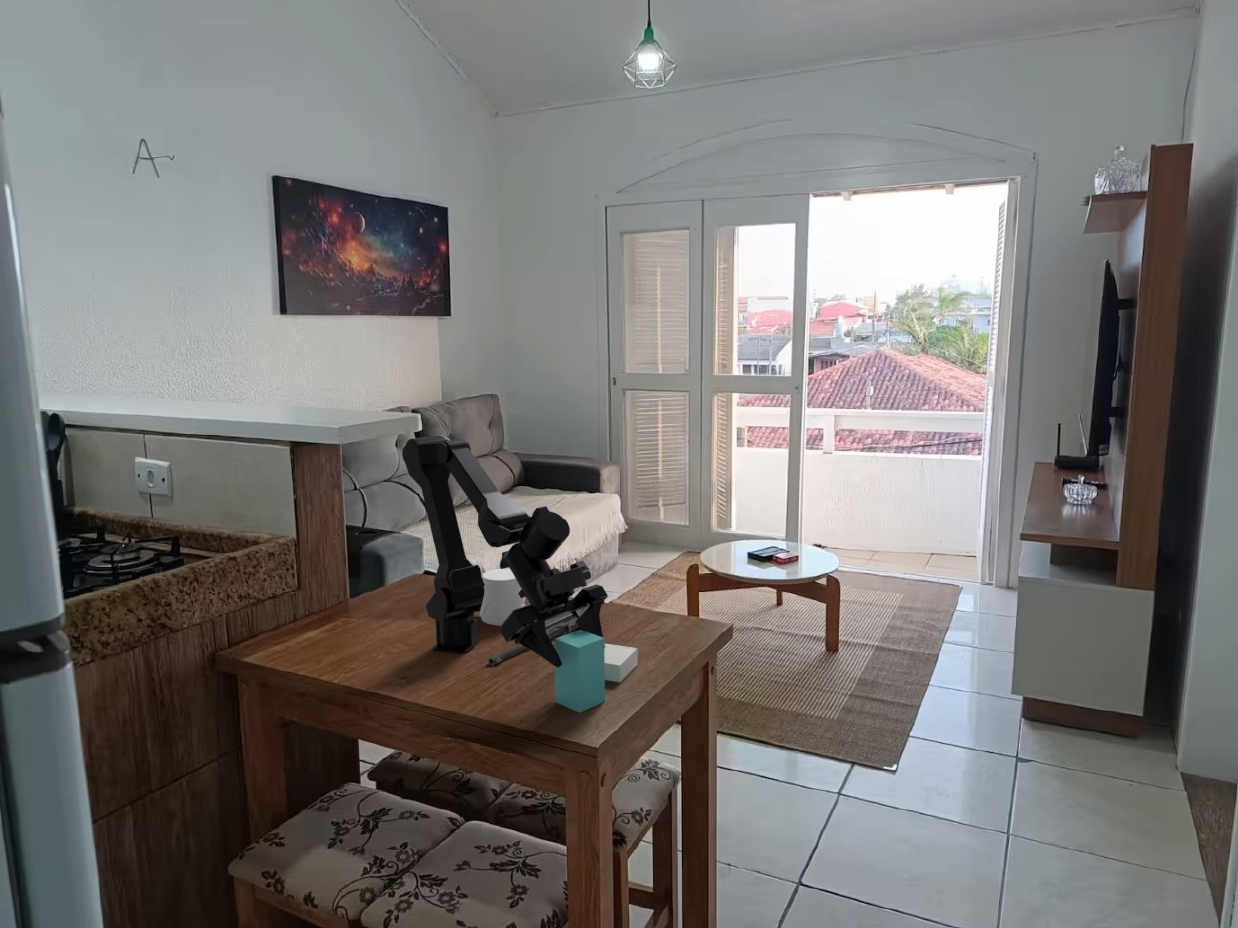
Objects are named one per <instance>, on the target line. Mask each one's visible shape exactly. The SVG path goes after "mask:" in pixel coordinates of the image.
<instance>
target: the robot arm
mask: <svg viewBox="0 0 1238 928" xmlns="http://www.w3.org/2000/svg"><path fill="white" fill-rule="evenodd" d="M401 453H402V455H401V457H402V459H403V460H402V461H403V462H404V464H405V466H406V470H407V473H408V475H409V476H410V477H411V478H412V480H413V481H414V482H415V483H416V484H417V485H418V486H419V487H420V489H421V494H422V496H423V501H424V505H425V510H426V514H427V518H428V523H429V527H430V531H431V537H432V540H433V545H434V548H435V552H436V557H437V558H436V559H437V561H438V567H437V569H436V573H435V577H434V578H433V585H434V591H435V592H434V593H433V595H432V596H431V598H430V599H429V600H428V602H427V603H426V605H425V609H426V612H427V616H428V617H429V618H431V619H434V620H435V637H436V640H435V641H436V643H435V645H434V646H432V651H438V652H439V651H440V652H449V653H458V654H465V653H467V652H468V651H469V650H470V649H471V648H472V647H474V646H475V645H476V644H477V643H478V642H479V638H478V631H477V627H478V626H477V620H475V616H474V615H475V613H476V612H477V613H480V611H481V606H482V602H483V597H484V592H485V589H484V586H485V584H484V582H483V579H482V576H483V575H482V570H481V567H480V565H478V564H473V563H472V562H471V561H470V560H469V559H468V558H467V556H466V551H465V548H464V543H463V539H462V535H461V531H460V526H459V522H458V517H457V514H456V509H455V505H454V501H453V497H452V493H451V488H450V484H449V479H450V477H451V475H452V477H453V478H454V479H455V481H456V483H457V484H458V485H459V487H460V488H461V490H462V491H463V493H464V494H465V496H466V497H467V498H468V500H469V501H470V503H471V504H472V506H473V507H474V508H475V512H477V527H478V528H479V530H480V532H481V535H482V536H483V538H484V540H485V542H486V543H487V545H489V546H490V547H491V548H502V547H505V546H510V548H509V549H508V551H503V552H502V553H501V557H500V558H501V559H500V561H499V569H511V571H512V573H513V575H514V576H515V578H516V580H517V582H518V583H519V585H520V587H521V590H520V592H519V593H518V594H519V596H520V597H521V598H524V597H525V599H527V600H528V603H529V605H526V606H525V607H522V608H519V609H516V610H513V612H512V613H511V614H510V615H509V616H508V618H507V619H506V620H505V621H504V623H503V624H502V626H500V629H501V630H500V631H501V632H500V633H501V635H502V637H503V639H504V640H505V642H506V643H511V642H514V645H517V644H521V645H523V646H524V647H526V648H528V649H527V650H529V651H532V652H533V653H535V654H537V655H538V656H540V657H541V658H542V659H544V660H546V661H547V662H548V663H550V664H552V665H553V666H554V667H555V666H556V667H557V668H559V667H560V666H561V665H562V662H561V659H560V657H559V655H558V653H557V651H556V649H555V645H554V644H553V642H552V641H551V639H549V637H548V635H547V633H546V628H545V621H547V620H550V619H553V618H556V617H559V616H562V615H565V614H568V613H572V615H573V616H575V617H577V618H578V619H577V620H576V621H575V622H576V623H577V625H578V626H579V627H578V628H579V629H580V630H583V631H586V632H589V633H591V634H594V635H597V636H600V637H603V638H604V633H603V629H602V625H601V617H600V614H601V609H602V607H603V606H604V605H605V600H606V599H607V598H609V594H607V593H608V592H606V590H605V588H604V586H602V585H599V584H596V583H595V584H593V585H591V586H588V585H587V580H590V579H591V578H592V573H591V570H590V567H589V566H588V565H587V564H586V562H585V561H584V560H580V561H576V562H575V563H571V564H570V565H569V569H568V570H564V571H561V570H559V569H558V568H557V567H555V568H554V567H553V568H552V567H551V566H550V565H549V563H548V561H547V560H549V559H551V558H552V557H553V556H554V555H555V553H556V552H557V551H558V550H559V548H560V547H561V546H562V545H563V543H565V541H566V540H567V539H568V538H569V536H570V533H571V528H570V525H569V523H568V520H567V519H565V518H563V517H562V516H561V515H560V514H558V513H556V512H553V511H550V510H549V509H548V506H547V505H545V506H539V507H536V508H535V509H534V511H533V512H532V515H531V516H530V515H528V513H527V512H526V510H524V509H523V508H522V507H521V506H520V505H519V503H518V502H516V501H515V500H514V499H512V498H510V497H509V498H508V497H507V496H505V495H503V494H502V492H501V491H500V490H499V489H498V488H497V486H496V485H495V483H494V481H492V479H491V477H490V476H489V475H488V473H487V472H486V470H485V469H484V468H483V466H482V465H481V463H480V462H479V461H478V460H477V457H476V456H475V455H474V454H473V452H472V450H471V446H470V444H469V442H468V441H467V440H465V439H460V438H459V439H451V440H448V439H446V438H445V437H444V436H442V435H433V436H432V435H431V436H424V437H423V436H421V437H415V438H409V439H408V440H407V441H406V443H405V445H404V446H403V448H402V451H401ZM511 545H512V546H511ZM580 587H581V590H579V592H578V593H576V592H575V589H578V588H580ZM575 593H576V595H575V596H574V597H573V598H572V599H569V598H570V597H572V596H573V595H574V594H575ZM562 608H563V609H562ZM605 644H606V643H605ZM605 644H604V649H605Z"/></svg>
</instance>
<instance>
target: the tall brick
mask: <svg viewBox="0 0 1238 928" xmlns="http://www.w3.org/2000/svg"><path fill="white" fill-rule="evenodd" d="M604 643H605V638H604V636H603V637H600V636H597V635H594V634H591V633H589V632H586V631H583V630H582V629H578V630H574V631H571V632H568V633H566V634H564V635H559V636H558V637H554V648H555V649H556V651H557V653H558V655H559V657H560V659H561V662H562V665H561V666H560V667H559V668H557V667H556V666H554V683H555V684H554V687H555V688H554V689H555V690H554V693H555V699H554V700H555V703H557V704H559V705H562V706H564V707H566V708H568V709H570V710H573V711H575V712H577V713H582V712H584V711H586V710H589V709H591V708H593V707H596V706H598V705H601V704H603V703H605V702H606V695H605V694H606V690H605V688H606V687H605V684H606V680H605V656H604Z"/></svg>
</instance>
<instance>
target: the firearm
mask: <svg viewBox="0 0 1238 928" xmlns="http://www.w3.org/2000/svg"><path fill="white" fill-rule="evenodd" d="M562 609H563V608H562ZM577 619H578V618H577V617H575V616H573V615H572V613H568V614H565V615H562V616H559V617H556V618H553V619H550V620H547V621H545V628H546V633H547V635H548V637H549V639H550V640H551V639H553V638H556V637H557V636H563V635H566V634H569V633H572V632H575V631H576V629H578V628H580V627H579V626H578V625H577V623H576V622H575V621H576V620H577ZM525 650H529V649H528V648H526V647H524V646H523V645H521V644H517V645H516V644H514V645H513V646H511V647H509V648H507V649H505V650H502V651H500V652H498V653H496V654H494V655H492V656H489V657H488V658H487V663H488V664H489V665H491V666H494V665H496V664H498V663H501V662H503V661H504V660H507V659H510V658H511V657H513V656H515V655H517V654H519V653H522V652H524V651H525Z"/></svg>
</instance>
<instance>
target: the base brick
mask: <svg viewBox="0 0 1238 928" xmlns="http://www.w3.org/2000/svg"><path fill="white" fill-rule="evenodd" d="M604 644H605V649H604V656H605V681H609V682H615V683H621V682H622V681H623V680H624V679H625V678H626V677H627V676H628V675H629V674H630V673H631V672H632V671H633V670H635V668H636V667H637V666H638V662H639V661H638V656H639V655H638V654H639V653H638V650H639V649H638V648H637V647H630V646H624V645H617V644H610V643H605V642H604Z"/></svg>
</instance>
